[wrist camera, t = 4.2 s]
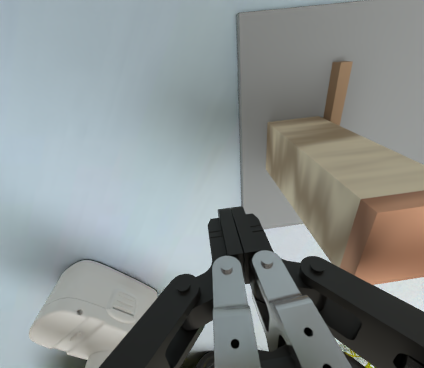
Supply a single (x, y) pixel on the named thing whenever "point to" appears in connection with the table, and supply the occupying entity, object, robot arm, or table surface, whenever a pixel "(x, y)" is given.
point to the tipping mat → (328, 83)
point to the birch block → (351, 197)
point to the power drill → (91, 311)
